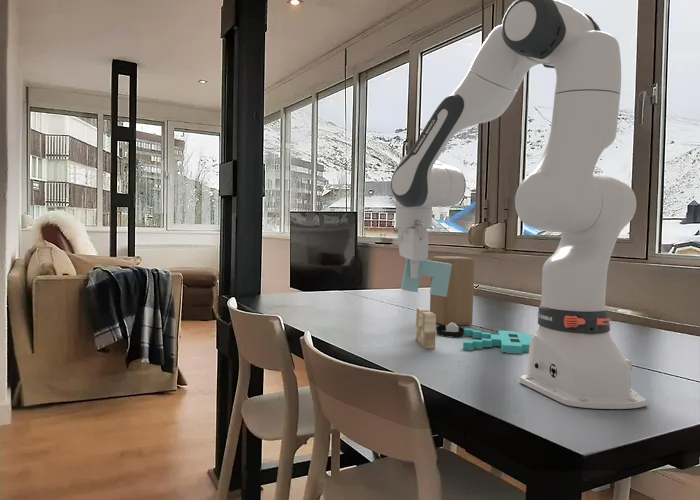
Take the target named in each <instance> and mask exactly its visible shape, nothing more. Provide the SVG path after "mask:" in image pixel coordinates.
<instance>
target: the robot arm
mask: <svg viewBox="0 0 700 500" xmlns="http://www.w3.org/2000/svg"><path fill="white" fill-rule="evenodd" d="M540 64H541V65H542V66H543V67H544V68H548V69H554V70H555V74H556V75H555V77H556V78H555V87H554V89H555V90H554V97H553V108H552V115H551V116H552V117H551V124H550V133H549V137H548V141H547V144H546V148H545V149H544V153H543V155H542V157H541V158H540V161H539V162H538V164H537V165H536V167H535V168H534V169H533V170H532V172H531V173H530V174H529V175H527V176H526V177H525V178H524V179H523V180H522V181H521V182H520V184H519V186H518V187H517V188H516V189H517V190H516V193H515V196H514V206H515V211H516V214H517V216H518V218H519V219H520V221H521V223H523V224H524V225H526V226H528V227H531V228H534V229H537V230H540V231H543V232H547V233H562V234H561V238H560V240H559V244H558V246H557V248H556V250H555V251H554V253H553V254H552V255H551V256H550V257H548V258H547V259H546V260H545V261H544V263H543V265H542V268H541V269H542V271H541V272H542V275H541V299H540V300H541V301H540V305H539V306H538V312H537V324H538V325H539V327H538V329H537V330H536V332H535V334H533V335H534V336H533V337H532V338H531V340H530V347H529V352H528V358H527V368H526V374H523V375H520V376H519V383H520V384H521V385H524V386H525V387H526V386H527V387H528V388H529V389H532V390H534V391H536V392H538V393H540V394H542V395H544V396H546V397H549V398H551V399H553V400H555V401H556V402H559V403H560V404H562V405H566V406H569V407H576V408H584V409H585V408H586V409H596V410H597V409H598V410H599V409H600V410H601V409H602V410H603V409H604V410H606V409H607V410H608V409H609V410H615V409H616V410H623V409H625V410H626V409H637V408H643V407H646V406H647V399H646V398H644V396H642V395H641V394H639V393H638V392H637V391H635V390H634V389H633V388H632V386H631V384H632V381H631V380H632V379H631V375H632V374H631V372H632V369H633V364H632V361H631V360H630V359H629V358H627V359H626V358H625V357H624V356H623V354H622V352H621V351H620V349H619V347H618V346H617V344H616V343H615V341H614V340H613V338H612V336H611V334H610V331H611V327H610V326H611V325H612V323H610V321H612V319H611V318H609V315H608V310H607V309H606V296H607V294H606V292H607V279H608V270H609V263H610V261H611V257H612V253H613V251H614V248H615V245H616V243H617V240H618V239H619V236H620V234H621V232H622V231H623V229H624V228H625V227H626V226H627V225H628V224H629V223H630V222H631V221H632V220H633V218H634V216H635V213H636V210H637V199H636V195H635V192H634V190H633V188H631V187H630V186H629V185H628V184H627V183H625V182H623V181H620V180H619V179H616V178H614V177H611V176H608V175H603V174H594V171H595V168H596V165H597V162H598V160H599V158H600V156H601V155H602V153H603V152H604V150H605V149H608V147H610V146H611V145H612V144H613V142H615V139H616V137H617V132H618V123H619V122H618V121H619V110H620V101H621V100H620V99H621V93H622V92H621V91H622V90H621V89H622V60H621V49H620V44H619V42H618V39H617V38H616V37H614V36H613V35H612V34H610V33H608V32H604V31H601V28H600V26H599V24H598V23H597V22H596V20H595V19H594V18H593V17H592V16H591V15H588V14H586V13H583V12H581V10H578V9H576V8H575V7H573V6H572V5H570V4H569V3H566V2H564V1H561V0H515V1H513V2H512V3H511V4H510V5H509V7H507V10H506V11H505V13H504V15H503V18H502V21H501V24H498V25H497V26H495V27H494V28H493V29H492V30H491V32H490V33H489V34H488V36H487V37H486V39H485V40H484V41H483V43H482V45H481V47H479V49H478V51H477V53H476V55H475V56H474V59H473V60H472V62H471V64H470V67H469V69H468V71H467V72H466V74H465V76H464V78H463V79H462V81H461V82H460V83H459V85H458V86H457V87H456V88H455V89H454V91H453V92H452V93H451V94H450V95H447V97H445V98H444V99H442V101H441V102H440V103H439V104H438V106H437V107H436V109H435V110H434V112H433V113H432V115H431V117H430V118H429V120H428V122H427V123H426V125H425V126H424V128H423V129H422V131H421V133H420V135H419V137H418V138H417V139H416V141H415V143H414V144H413V146H412V147H411V149H410V151H409V152H408V154H405V155H404V156H402V157H401V158H400V161H399V164H398V166H397V167H396V168H395V169H394V171H393V173H392V177H391V180H390V188H391V192H392V194H393V197H394V198H395V199H396V201H397V202H396V206H395V228H397V236H398V237H397V238H398V240H397V242H398V252H399V253H398V254H399V255H400V257H402V258H405V259H406V258H408V259H410V272H409V273H410V274H409V276H410V277H411V278H417V277H418V269H419V264H420V261H426V260H428V256H429V233H428V230H427V229H432V227H433V208H434V207H438V208H439V207H440V208H447V207H453V206H456V205H458V204H459V203H460V202H461V201H462V200H463V197H464V196H465V192H466V190H467V189H466V187H467V184H466V179H465V175H464V174H463V172H462V171H461V169H459V168H458V167H454V166H452V165H449V164H445V163H442V162H440V161H438V159H439V158H440V155H441V154H442V153H443V151H444V149H445V147H447V145H448V143H449V142H450V140H451V139H452V138H453V137H454V136H455V135H456V134H458V133H460V132H461V131H463V130H465V129H467V128H470V127H472V126H476V125H479V124H484V123H488V122H491V121H492V122H493V121H494V120H496V119H498V118H499V117H502V115H503V114H504V113H505V112H506V110H507V109H508V108H509V106H510V105H511V103H512V102H513V100H514V98H515V97H516V94H517V92H518V90H519V89H520V86H521V84H522V82H523V80H524V78H525V76H526V75H527V73H528V71H530V69H532V68H533V67H534V66H536V65H540Z"/></svg>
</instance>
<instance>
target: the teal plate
mask: <svg viewBox="0 0 700 500" xmlns="http://www.w3.org/2000/svg"><path fill="white" fill-rule="evenodd" d="M404 263H405V264H404V268H403V274H402V280H401V285H400V286H401V287H400V289H401V290H402V291H408V292H413V293H418V290H419V286H420V285H419V284H420V278H421V276H427V277H430V278H431V277H432V283H431V282H430V288H429V289H430V290H429V294H432V295H438V296H444V297H447V291H448V285H449V280H450V274H451V268H452V264H448V263H441V262H435V261H431V260H428V259H427V260H426V261H420V264H419V269H418V277H417V278H411V277H410V276H409V274H410V273H409V272H410V259H408V258H405V262H404Z"/></svg>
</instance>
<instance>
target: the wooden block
mask: <svg viewBox="0 0 700 500" xmlns="http://www.w3.org/2000/svg"><path fill="white" fill-rule="evenodd" d="M430 261H435V262H441V263H448V264H452V268H451V274H450V280H449V285H448V291H447V297H444V296H438V295H432V294H430V293H429V294H430V295H429V297H430V298H429V299H430V300H429V312H433V313H434V314H435V315H436V324H439V325H448V324H450V323H451V322H453V323H454V324H456V325H457V326H470V325H472V324H473V318H474V317H473V316H474V315H473V314H474V313H473V310H474V287H475V286H474V283H475V281H474V280H475V278H474V277H475V259H474V258H472V257H466V256H459V255H458V256H456V255H455V256H451V255H448V256H447V255H446V256H445V255H443V256H442V255H435V256H434V255H433V256H432V257H431V259H430ZM431 283H432V277H431V276H430V284H431Z"/></svg>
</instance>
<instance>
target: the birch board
mask: <svg viewBox="0 0 700 500" xmlns="http://www.w3.org/2000/svg"><path fill="white" fill-rule="evenodd" d="M436 324H437V323H436V315H435V314H434V313H433V312H430V309H428V307H416V320H415V339H416V340H417V342H418V343H419V344H420V345H421V346H422V347H423V348H424V349H426V350H427V349H432V350H433V349H434V350H435V349H436V334H437V330H436V327H437V325H436Z"/></svg>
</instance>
